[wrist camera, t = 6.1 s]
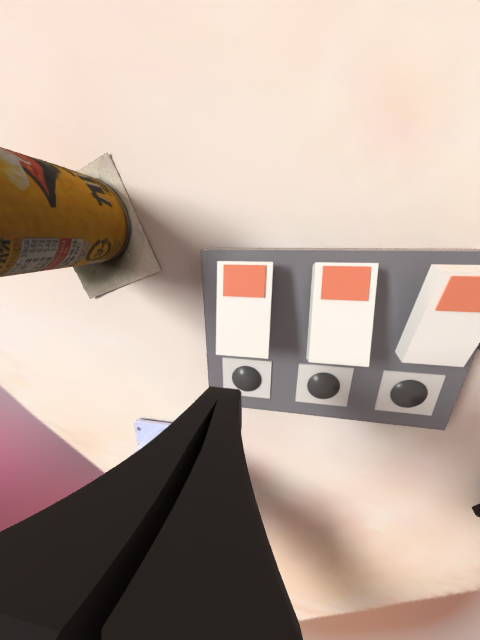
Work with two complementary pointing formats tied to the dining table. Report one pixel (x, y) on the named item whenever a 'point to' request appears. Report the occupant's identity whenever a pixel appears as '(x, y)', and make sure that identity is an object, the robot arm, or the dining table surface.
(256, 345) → the rocker near arm
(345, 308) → the rocker middle
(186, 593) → the robot arm
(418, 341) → the rocker near camera
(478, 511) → the mate gourd
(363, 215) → the dining table surface
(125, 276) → the condiment
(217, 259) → the rocker switch panel
